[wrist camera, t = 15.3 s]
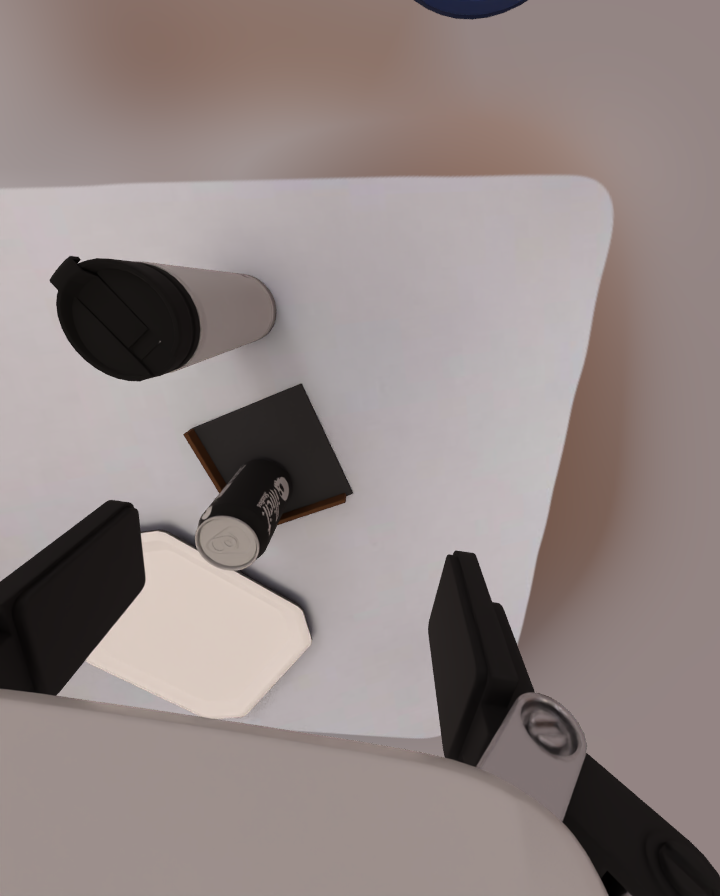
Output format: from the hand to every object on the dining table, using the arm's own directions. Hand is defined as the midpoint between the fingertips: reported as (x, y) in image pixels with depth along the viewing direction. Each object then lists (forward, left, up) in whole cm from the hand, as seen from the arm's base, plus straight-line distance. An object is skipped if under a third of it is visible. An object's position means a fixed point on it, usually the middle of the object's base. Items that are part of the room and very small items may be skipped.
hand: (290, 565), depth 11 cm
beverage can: (+8, -15, -30) cm, 35 cm away
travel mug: (-10, -8, -31) cm, 33 cm away
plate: (+25, -36, -31) cm, 53 cm away
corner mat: (+6, -13, -30) cm, 34 cm away
